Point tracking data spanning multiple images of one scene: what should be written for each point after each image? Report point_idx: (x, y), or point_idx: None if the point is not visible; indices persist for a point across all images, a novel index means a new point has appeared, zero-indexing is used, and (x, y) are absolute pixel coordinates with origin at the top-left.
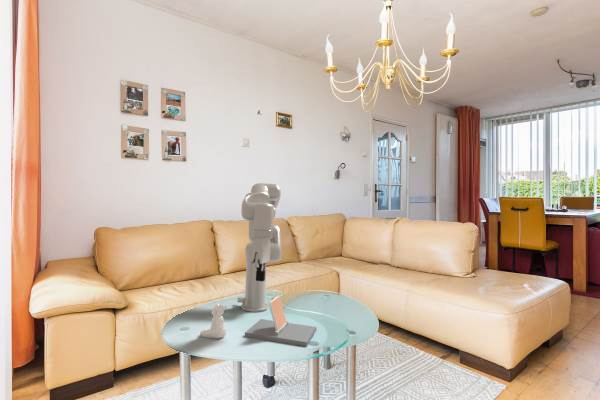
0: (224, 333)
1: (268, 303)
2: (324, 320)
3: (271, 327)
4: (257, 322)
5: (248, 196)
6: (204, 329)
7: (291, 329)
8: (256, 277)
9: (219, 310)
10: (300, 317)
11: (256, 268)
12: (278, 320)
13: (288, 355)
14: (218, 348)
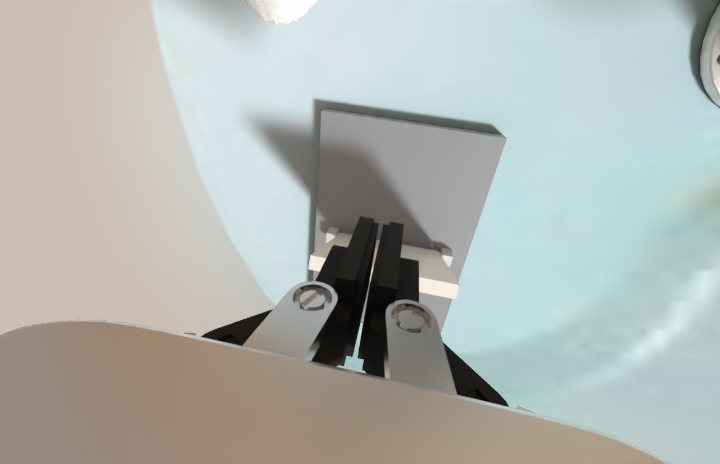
0: (270, 21)
1: (312, 254)
2: (544, 358)
3: (402, 204)
4: (452, 133)
5: None
6: None
7: None
8: (355, 234)
9: None
10: (582, 288)
11: (279, 310)
12: None
13: (248, 264)
14: (195, 41)
